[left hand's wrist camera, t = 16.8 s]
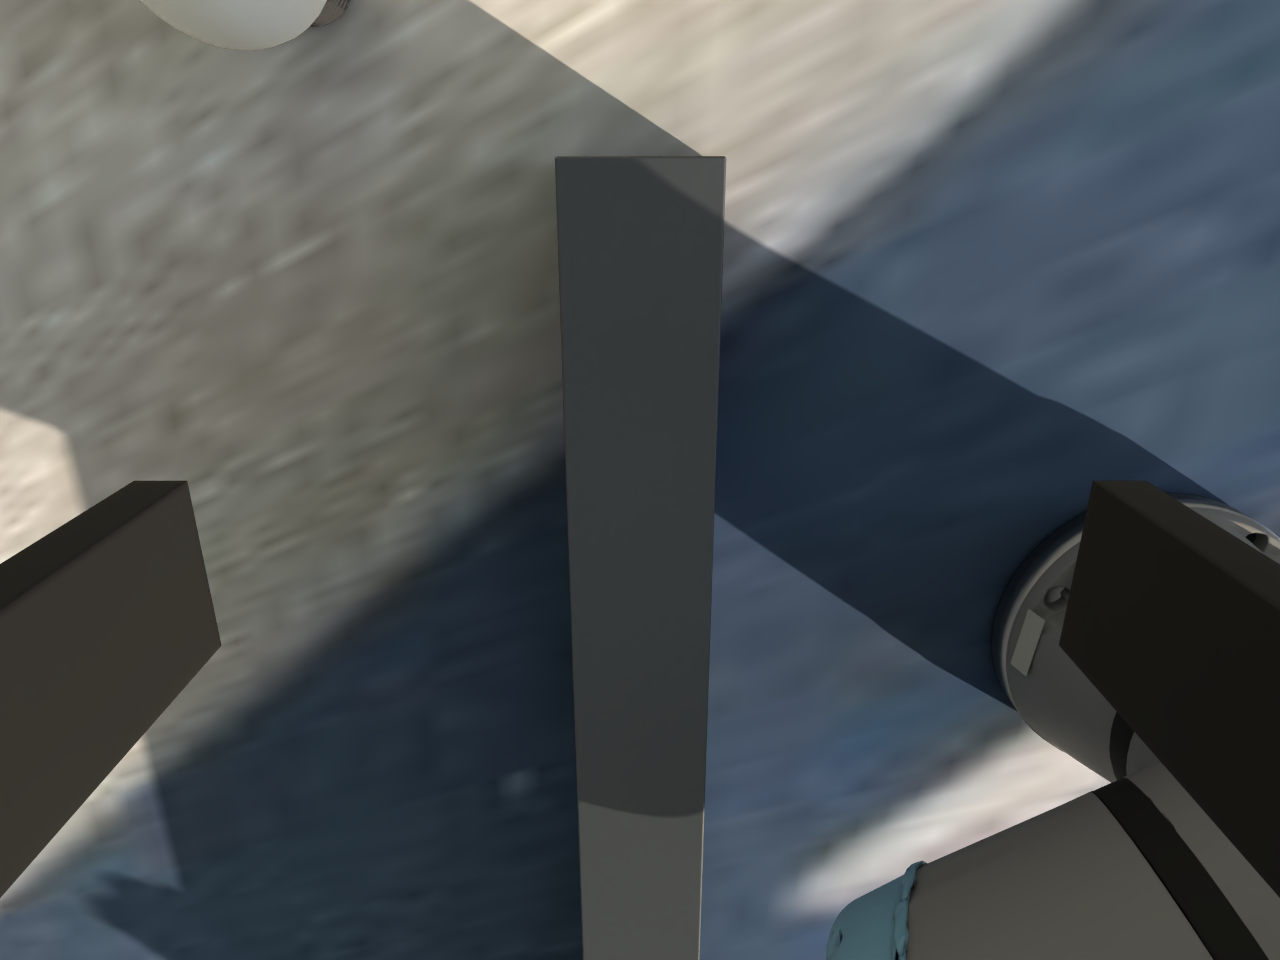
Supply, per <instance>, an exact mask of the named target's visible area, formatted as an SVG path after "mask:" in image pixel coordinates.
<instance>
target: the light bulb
mask: <svg viewBox="0 0 1280 960" xmlns="http://www.w3.org/2000/svg"><path fill="white" fill-rule="evenodd" d="M140 1H141V2H142V3H143V4H144V5H145V6H146V7H147V8H148V9H150V10H151V11H152V12H153V13H154V14H155V15H156V16H158V17H159V18H161V19H162V20H163V21H165V22H166V23H168V24H169V25H170V26H172V27H173V28H175V29H177V30H179V31H181V32H183V33H185V34H187V35H189V36H191V37H193V38H195V39H198V40H200V41H202V42H204V43H207V44H210V45H214V46H218V47H222V48H226V49H236V50H261V49H266V48H272V47H275V46H278V45H280V44H282V43H285V42H287V41H289V40H292V39H294V38H296V37H297V36H298V35H300V34H301V33H302V32H304V31H305V30H306V29H308V28H309V27H317V26H322V25H326V24H329V23H331V22H333V21H335V20H336V19H337V18H339V17H340V16H341V15H342V14H343V13H344V11H345V10H346V9H347V7H348V5H349V3H350V0H140Z"/></svg>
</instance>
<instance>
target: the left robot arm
mask: <svg viewBox="0 0 1280 960" xmlns="http://www.w3.org/2000/svg"><path fill="white" fill-rule="evenodd" d="M220 646H221V642H220V637H219V632H218V627H217V623H216V618H215V613H214V608H213V603H212V599H211V594H210V589H209V584H208V579H207V574H206V570H205V565H204V560H203V555H202V550H201V546H200V541H199V536H198V531H197V526H196V522H195V517H194V512H193V507H192V502H191V498H190V493H189V488H188V483H187V481H133V482H132V483H130V484H128V485H127V486H125V487H124V488H122V489H120V490H119V491H117V492H115V493H114V494H112V495H111V496H109V497H107V498H106V499H104V500H103V501H101V502H99V503H98V504H96V505H95V506H93V507H91V508H90V509H88V510H87V511H85V512H83V513H82V514H80V515H78V516H77V517H75V518H74V519H72V520H70V521H69V522H67V523H66V524H64V525H62V526H61V527H59V528H58V529H56V530H54V531H53V532H51V533H49V534H48V535H46V536H45V537H43V538H41V539H40V540H38V541H37V542H35V543H33V544H32V545H30V546H29V547H27V548H25V549H24V550H22V551H21V552H19V553H17V554H16V555H14V556H12V557H11V558H9V559H8V560H6V561H4V562H3V563H1V564H0V898H1V897H2V895H3V894H4V893H5V892H6V891H7V890H8V889H9V887H10V886H11V885H12V884H13V883H14V882H15V881H16V879H17V878H18V877H19V876H20V875H21V874H22V873H23V871H24V870H25V869H26V868H27V867H28V866H29V865H30V863H31V862H32V861H33V860H34V859H35V858H36V857H37V855H38V854H39V853H40V852H41V851H42V850H43V849H44V847H45V846H46V845H47V844H48V843H49V842H50V841H51V839H52V838H53V837H54V836H55V835H56V834H57V833H58V831H59V830H60V829H61V828H62V827H63V826H64V825H65V823H66V822H67V821H68V820H69V819H70V818H71V817H72V815H73V814H74V813H75V812H76V811H77V810H78V808H79V807H80V806H81V805H82V804H83V803H84V802H85V800H86V799H87V798H88V797H89V796H90V795H91V794H92V792H93V791H94V790H95V789H96V788H97V787H98V786H99V784H100V783H101V782H102V781H103V780H104V779H105V778H106V776H107V775H108V774H109V773H110V772H111V771H112V770H113V768H114V767H115V766H116V765H117V764H118V763H119V762H120V760H121V759H122V758H123V757H124V756H125V755H126V754H127V752H128V751H129V750H130V749H131V748H132V747H133V746H134V744H135V743H136V742H137V741H138V740H139V739H140V738H141V736H142V735H143V734H144V733H145V732H146V731H147V730H148V728H149V727H150V726H151V725H152V724H153V723H154V722H155V720H156V719H157V718H158V717H159V716H160V715H161V714H162V712H163V711H164V710H165V709H166V708H167V707H168V706H169V704H170V703H171V702H172V701H173V700H174V699H175V698H176V696H177V695H178V694H179V693H180V692H181V691H182V690H183V688H184V687H185V686H186V685H187V684H188V683H189V682H190V680H191V679H192V678H193V677H194V676H195V675H196V674H197V672H198V671H199V670H200V669H201V668H202V667H203V666H204V664H205V663H206V662H207V661H208V660H209V659H210V658H211V656H212V655H213V654H214V653H215V652H216V651H217V650H218V648H219V647H220ZM992 656H993V663H994V667H995V671H996V674H997V677H998V679H999V682H1000V684H1001V686H1002V688H1003V690H1004V692H1005V693H1006V695H1007V696H1008V698H1009V699H1010V701H1011V702H1012V704H1013V705H1014V707H1015V708H1016V709H1017V711H1018V712H1019V714H1020V715H1021V716H1022V718H1023V719H1024V721H1025V722H1026V723H1027V724H1028V725H1029V726H1030V727H1031V728H1032V730H1033V731H1034V732H1036V733H1037V734H1038V735H1039V736H1040V737H1042V738H1043V739H1044V740H1046V741H1047V742H1049V743H1050V744H1052V745H1053V746H1055V747H1056V748H1058V749H1059V750H1061V751H1063V752H1066V753H1067V754H1069V755H1070V756H1071V757H1073V758H1074V759H1076V760H1077V761H1079V762H1080V763H1082V764H1083V765H1085V766H1086V767H1088V768H1089V769H1091V770H1092V771H1094V772H1096V773H1097V774H1099V775H1100V776H1102V777H1103V778H1105V779H1106V780H1108V781H1110V782H1111V783H1110V784H1108V785H1106V786H1104V787H1101V788H1099V789H1097V790H1095V791H1091V792H1089V793H1087V794H1084V795H1082V796H1080V797H1078V798H1076V799H1074V800H1072V801H1069V802H1067V803H1065V804H1063V805H1061V806H1058V807H1056V808H1054V809H1051V810H1049V811H1047V812H1045V813H1042V814H1040V815H1038V816H1036V817H1033V818H1031V819H1029V820H1026V821H1024V822H1022V823H1020V824H1017V825H1015V826H1013V827H1010V828H1008V829H1006V830H1004V831H1001V832H999V833H997V834H994V835H992V836H990V837H988V838H985V839H983V840H981V841H978V842H976V843H974V844H972V845H969V846H967V847H965V848H962V849H960V850H958V851H956V852H953V853H951V854H949V855H946V856H944V857H942V858H940V859H937V860H935V861H933V862H930V863H928V864H927V863H926V862H924V861H920V862H917V863H914V864H912V865H911V866H910V867H909V868H908V869H907V870H906V872H905V874H904V875H902V876H901V877H899V878H897V879H895V880H893V881H891V882H889V883H887V884H885V885H883V886H881V887H879V888H877V889H875V890H873V891H871V892H869V893H867V894H865V895H863V896H861V897H859V898H857V899H855V900H854V901H852V902H851V903H850V904H848V905H847V906H846V907H845V908H844V909H843V910H842V911H841V912H840V914H839V915H838V917H837V918H836V920H835V922H834V924H833V926H832V929H831V932H830V936H829V939H828V944H827V952H826V960H1280V538H1279V537H1278V536H1277V535H1275V534H1274V533H1273V532H1272V531H1271V530H1269V529H1268V528H1266V527H1265V526H1263V525H1262V524H1260V523H1258V522H1257V521H1255V520H1253V519H1252V518H1250V517H1248V516H1246V515H1245V514H1243V513H1241V512H1239V511H1238V510H1236V509H1234V508H1232V507H1230V506H1228V505H1226V504H1224V503H1222V502H1219V501H1216V500H1213V499H1210V498H1206V497H1202V496H1197V495H1191V494H1183V493H1165V492H1163V491H1161V490H1160V489H1158V488H1156V487H1155V486H1153V485H1152V484H1150V483H1148V482H1147V481H1093V483H1092V488H1091V493H1090V498H1089V502H1088V507H1087V512H1086V513H1085V514H1083V515H1081V516H1079V517H1077V518H1075V519H1074V520H1072V521H1070V522H1069V523H1067V524H1066V525H1064V526H1062V527H1061V528H1060V529H1058V530H1057V531H1056V532H1054V533H1053V534H1052V535H1050V536H1049V537H1048V538H1047V539H1046V540H1045V541H1043V542H1042V543H1041V544H1040V545H1039V546H1038V547H1037V548H1036V549H1035V550H1034V551H1033V552H1032V553H1031V554H1030V555H1029V556H1028V557H1027V559H1026V560H1025V561H1024V562H1023V563H1022V565H1021V566H1020V567H1019V569H1018V570H1017V571H1016V573H1015V574H1014V576H1013V577H1012V579H1011V581H1010V582H1009V584H1008V586H1007V588H1006V590H1005V591H1004V594H1003V596H1002V598H1001V601H1000V603H999V606H998V609H997V612H996V615H995V620H994V625H993V631H992Z"/></svg>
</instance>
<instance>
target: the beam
mask: <svg viewBox="0 0 1280 960" xmlns="http://www.w3.org/2000/svg"><path fill="white" fill-rule="evenodd" d="M555 174H556V203H557V231H558V260H559V289H560V318H561V347H562V375H563V404H564V433H565V462H566V490H567V519H568V548H569V577H570V605H571V634H572V663H573V692H574V721H575V749H576V778H577V807H578V836H579V864H580V893H581V922H582V951H583V960H699V953H700V923H701V894H702V864H703V834H704V804H705V775H706V745H707V715H708V685H709V656H710V626H711V596H712V566H713V537H714V507H715V477H716V447H717V418H718V388H719V358H720V329H721V299H722V269H723V239H724V210H725V180H726V157H724V156H557V157H556V158H555Z"/></svg>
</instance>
